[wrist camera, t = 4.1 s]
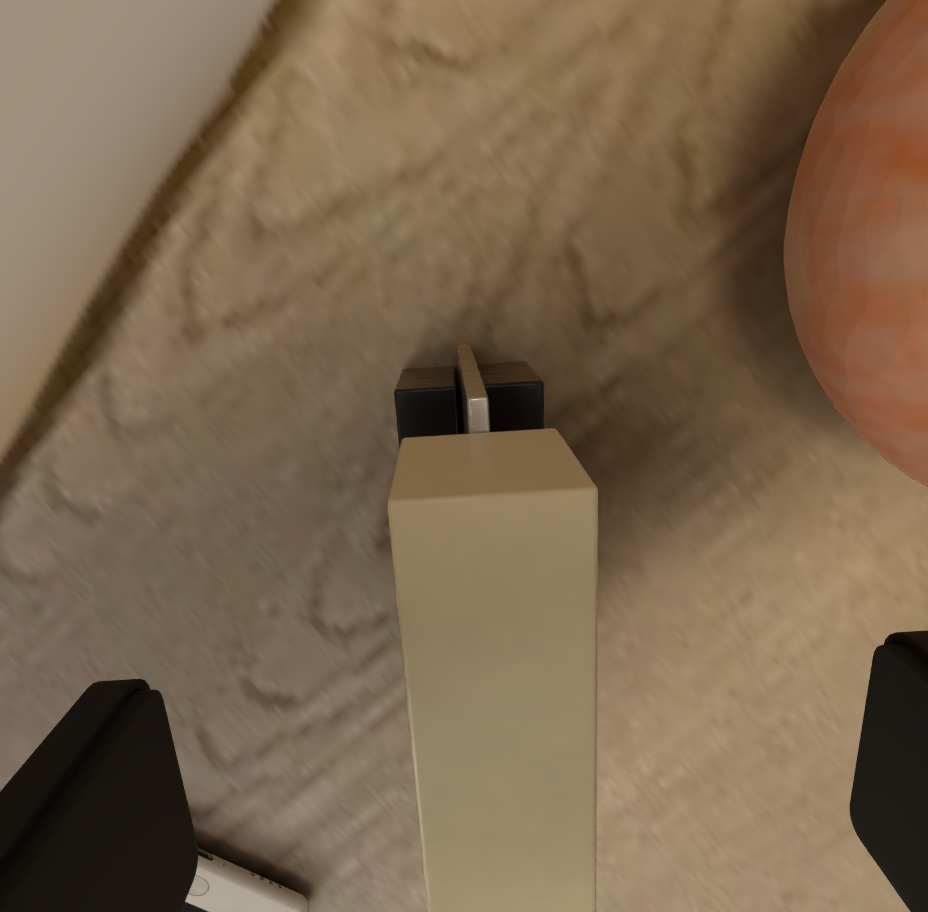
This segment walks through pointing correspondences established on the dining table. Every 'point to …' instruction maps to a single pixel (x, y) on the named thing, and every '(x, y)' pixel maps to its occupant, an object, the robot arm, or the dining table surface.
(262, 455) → the dining table surface
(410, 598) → the knife
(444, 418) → the knife holder
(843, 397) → the tomato
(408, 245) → the dining table surface
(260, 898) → the smartphone
